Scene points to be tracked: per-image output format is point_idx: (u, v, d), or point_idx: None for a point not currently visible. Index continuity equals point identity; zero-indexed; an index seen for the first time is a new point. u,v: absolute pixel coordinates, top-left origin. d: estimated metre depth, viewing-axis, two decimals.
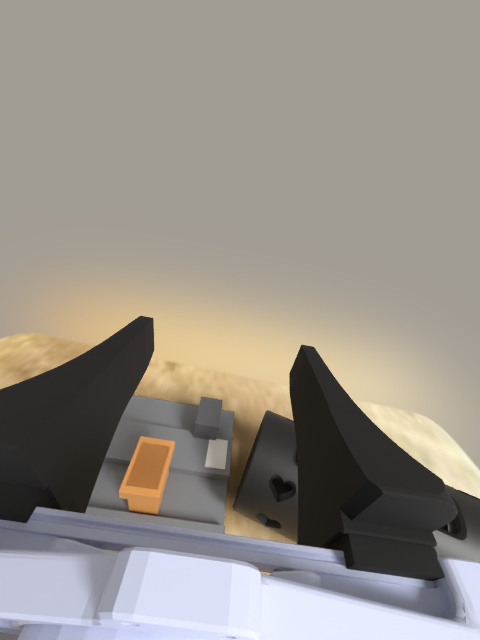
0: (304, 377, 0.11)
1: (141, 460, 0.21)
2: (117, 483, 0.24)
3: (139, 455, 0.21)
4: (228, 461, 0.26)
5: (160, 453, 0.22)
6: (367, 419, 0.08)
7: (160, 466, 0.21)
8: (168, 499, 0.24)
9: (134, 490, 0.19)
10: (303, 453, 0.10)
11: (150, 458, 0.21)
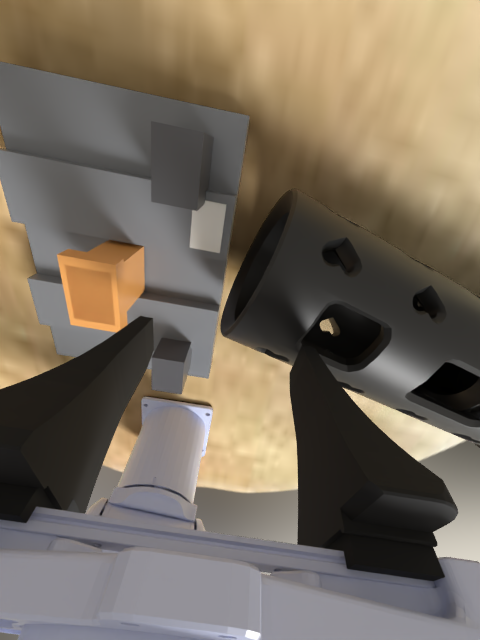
0: (304, 377, 0.11)
1: (78, 291, 0.15)
2: None
3: (71, 284, 0.14)
4: (225, 240, 0.17)
5: (100, 283, 0.14)
6: (367, 419, 0.08)
7: (107, 299, 0.15)
8: (153, 273, 0.19)
9: (88, 324, 0.16)
10: (303, 453, 0.10)
11: (89, 288, 0.14)
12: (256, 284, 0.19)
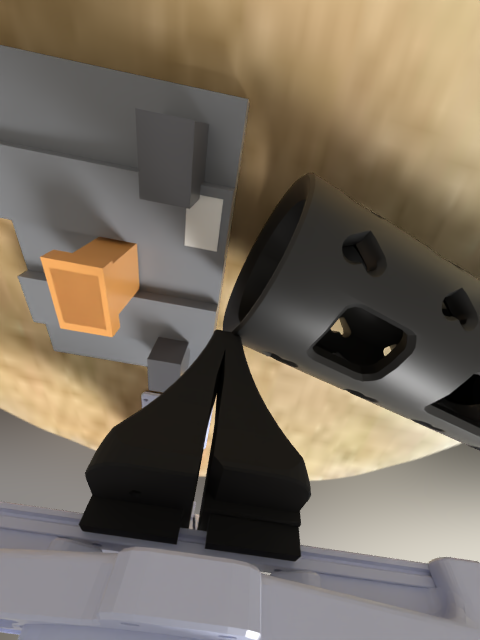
0: (222, 363, 0.11)
1: (65, 294, 0.14)
2: (75, 249, 0.18)
3: (58, 288, 0.14)
4: (223, 238, 0.16)
5: (87, 286, 0.13)
6: (259, 401, 0.08)
7: (96, 303, 0.14)
8: (148, 271, 0.18)
9: (78, 328, 0.15)
10: None
11: (76, 292, 0.14)
12: (262, 279, 0.17)
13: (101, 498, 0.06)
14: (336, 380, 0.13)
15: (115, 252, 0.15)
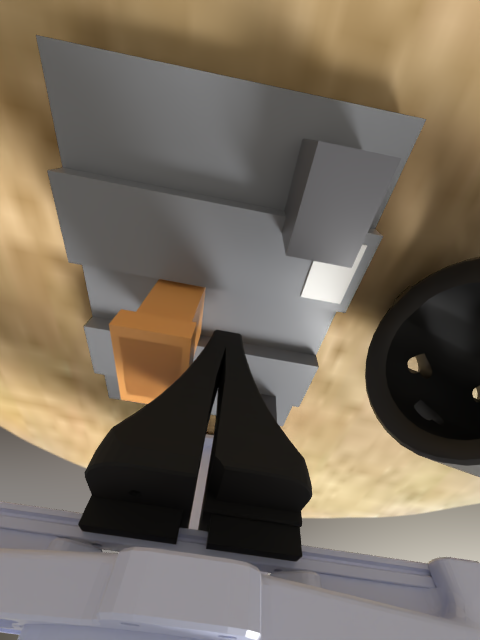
0: (223, 363, 0.11)
1: (134, 365, 0.11)
2: None
3: (126, 358, 0.10)
4: (352, 289, 0.13)
5: (166, 357, 0.10)
6: (260, 401, 0.08)
7: (173, 375, 0.11)
8: (239, 319, 0.15)
9: (143, 400, 0.12)
10: (213, 439, 0.10)
11: (150, 363, 0.10)
12: (403, 348, 0.15)
13: (100, 498, 0.06)
14: None
15: (187, 302, 0.12)
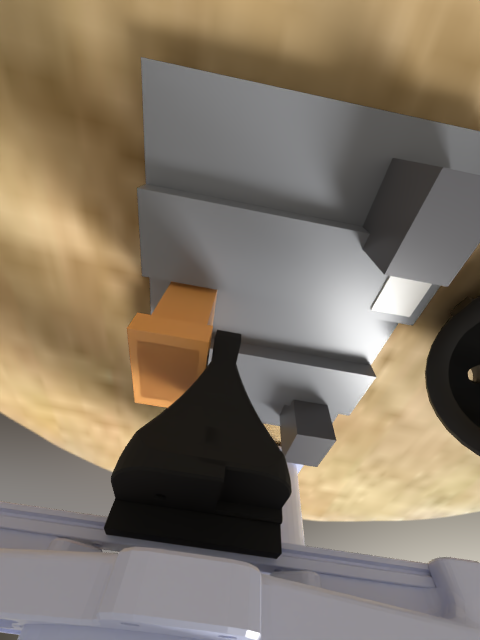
0: None
1: (150, 368, 0.11)
2: (218, 306, 0.15)
3: (142, 361, 0.10)
4: (423, 303, 0.13)
5: (182, 361, 0.10)
6: (245, 398, 0.08)
7: (188, 379, 0.11)
8: (299, 330, 0.15)
9: (158, 403, 0.12)
10: None
11: (166, 366, 0.10)
12: (463, 359, 0.15)
13: (124, 501, 0.06)
14: None
15: (201, 305, 0.12)
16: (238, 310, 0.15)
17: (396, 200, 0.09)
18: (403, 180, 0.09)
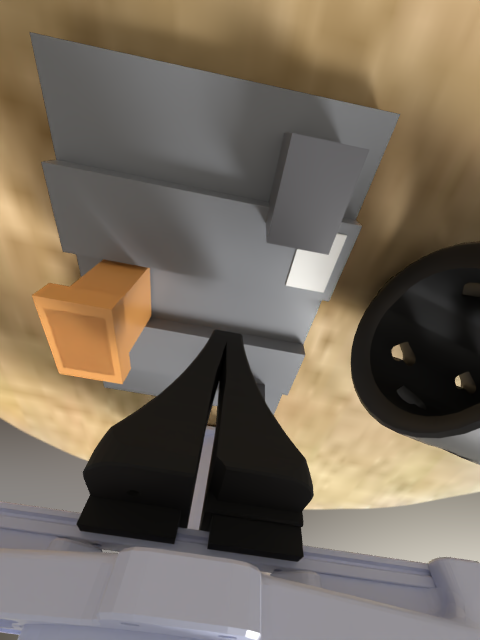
0: (224, 363, 0.11)
1: (64, 337, 0.11)
2: None
3: (55, 330, 0.11)
4: (334, 278, 0.13)
5: (92, 329, 0.11)
6: (261, 401, 0.08)
7: (103, 348, 0.11)
8: (228, 309, 0.16)
9: (80, 374, 0.12)
10: (214, 439, 0.10)
11: (78, 335, 0.11)
12: (387, 337, 0.16)
13: (99, 498, 0.06)
14: None
15: (125, 280, 0.13)
16: (167, 288, 0.15)
17: (279, 171, 0.10)
18: (283, 151, 0.10)
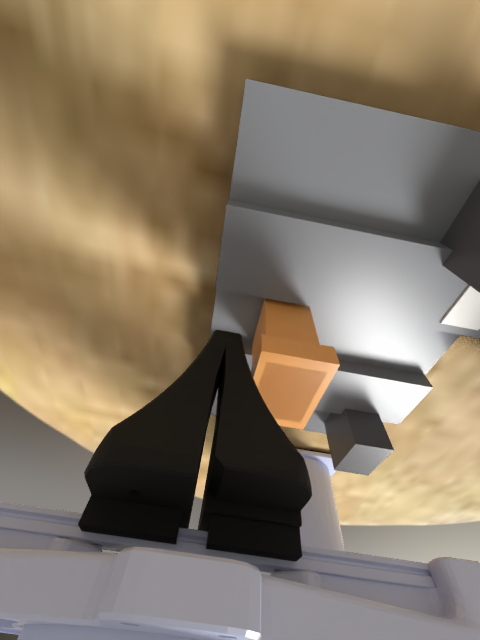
0: (223, 363, 0.11)
1: (270, 388, 0.11)
2: None
3: (264, 381, 0.11)
4: None
5: (306, 381, 0.10)
6: (260, 401, 0.08)
7: (305, 398, 0.11)
8: (358, 341, 0.16)
9: None
10: (213, 438, 0.10)
11: (287, 387, 0.11)
12: None
13: (100, 498, 0.06)
14: None
15: (304, 323, 0.12)
16: None
17: None
18: None
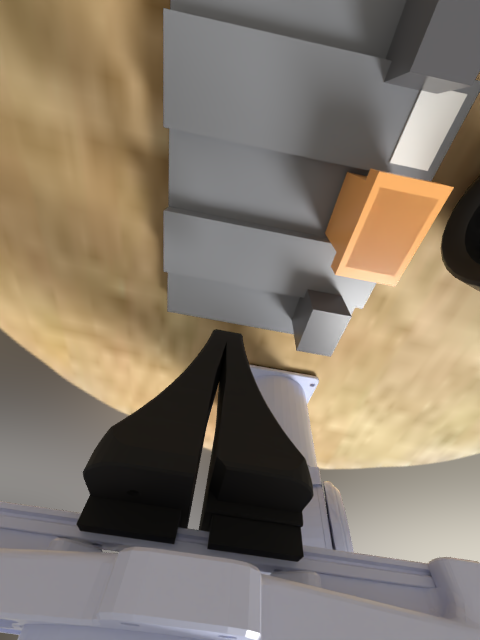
0: (224, 363, 0.11)
1: (375, 226, 0.11)
2: (235, 176, 0.15)
3: (371, 217, 0.11)
4: (442, 152, 0.13)
5: (413, 214, 0.11)
6: (261, 401, 0.08)
7: (407, 239, 0.11)
8: (315, 205, 0.16)
9: (359, 274, 0.12)
10: (214, 439, 0.10)
11: (392, 223, 0.11)
12: (478, 231, 0.15)
13: (99, 498, 0.06)
14: None
15: None
16: (256, 180, 0.15)
17: (421, 0, 0.10)
18: None
